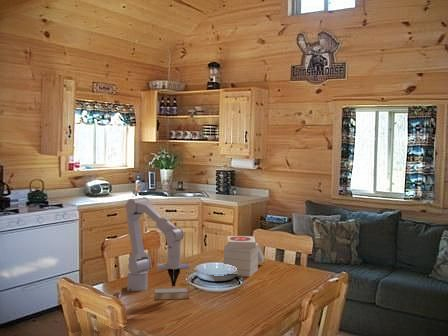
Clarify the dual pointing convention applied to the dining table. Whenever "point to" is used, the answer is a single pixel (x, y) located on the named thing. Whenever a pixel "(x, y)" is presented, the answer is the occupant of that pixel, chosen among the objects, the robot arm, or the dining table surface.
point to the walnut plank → (171, 296)
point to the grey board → (171, 290)
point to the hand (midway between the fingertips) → (173, 285)
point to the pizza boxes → (243, 254)
